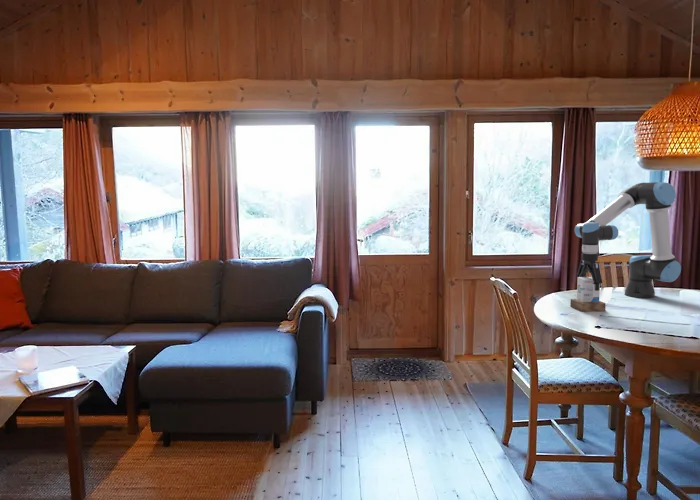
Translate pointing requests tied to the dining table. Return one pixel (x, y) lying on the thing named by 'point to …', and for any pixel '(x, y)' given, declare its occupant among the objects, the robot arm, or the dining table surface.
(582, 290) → the ink box
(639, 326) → the dining table surface
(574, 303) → the walnut frame
